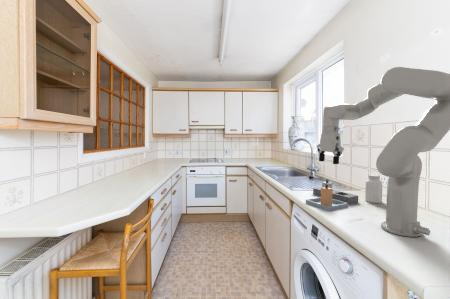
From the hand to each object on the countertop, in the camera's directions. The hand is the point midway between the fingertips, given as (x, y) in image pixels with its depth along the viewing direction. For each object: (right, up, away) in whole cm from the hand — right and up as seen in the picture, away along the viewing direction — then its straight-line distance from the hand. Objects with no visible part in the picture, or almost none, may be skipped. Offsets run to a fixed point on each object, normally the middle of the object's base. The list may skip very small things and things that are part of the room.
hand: (328, 162), depth 115 cm
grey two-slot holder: (+10, -23, +15) cm, 29 cm away
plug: (0, -23, +2) cm, 23 cm away
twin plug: (+8, -22, +19) cm, 31 cm away
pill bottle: (+30, -23, +10) cm, 39 cm away
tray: (0, -24, +2) cm, 24 cm away
